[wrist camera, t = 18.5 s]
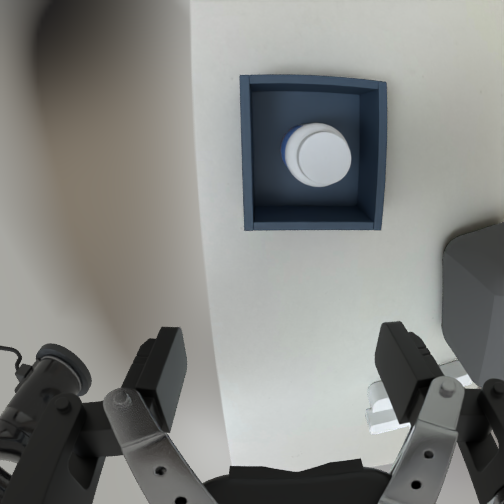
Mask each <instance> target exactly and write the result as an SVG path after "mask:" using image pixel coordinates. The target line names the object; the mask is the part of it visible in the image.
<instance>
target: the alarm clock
mask: <svg viewBox="0 0 504 504" xmlns="http://www.w3.org/2000/svg"><path fill="white" fill-rule="evenodd" d="M442 331H443V335H444V338H445V341H446V342H447V344H448V345H449V346H450V348H451V349H452V351H453V352H454V354H455V355H456V357H457V358H458V360H459V361H460V363H461V364H462V366H463V368H464V369H465V371H466V372H467V374H468V375H469V377H470V379H471V380H472V381H473V382H474V383H475V384H476V385H478V386H480V387H482V386H483V384H484V383H485V382H486V381H487V380H488V379H492V378H497V379H501V380H503V381H504V222H502V223H499V224H496V225H493V226H490V227H487V228H483V229H480V230H477V231H474V232H471V233H468V234H464V235H461V236H458V237H456V238H455V239H453V240H452V241H450V243H449V244H448V245H447V247H446V249H445V251H444V255H443V305H442Z"/></svg>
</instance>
